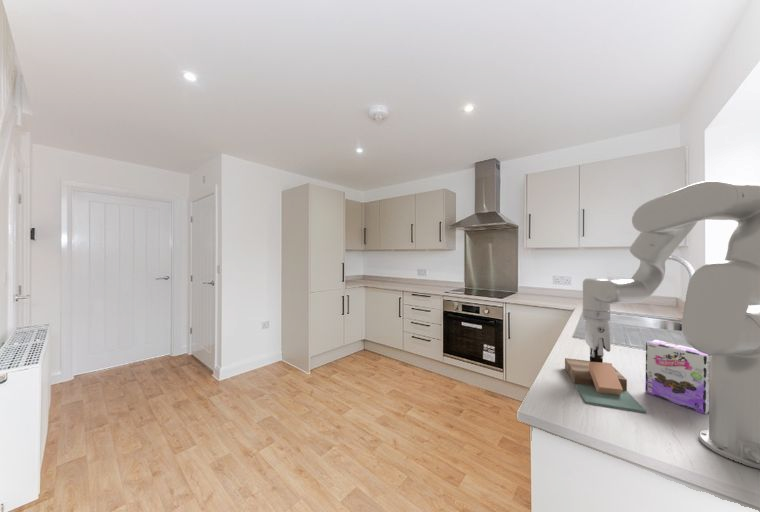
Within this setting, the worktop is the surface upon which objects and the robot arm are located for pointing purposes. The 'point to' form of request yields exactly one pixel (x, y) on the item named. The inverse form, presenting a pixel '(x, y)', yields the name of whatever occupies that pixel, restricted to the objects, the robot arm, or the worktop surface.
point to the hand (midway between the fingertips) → (596, 368)
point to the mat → (609, 399)
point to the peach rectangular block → (605, 378)
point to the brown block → (586, 373)
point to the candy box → (678, 374)
